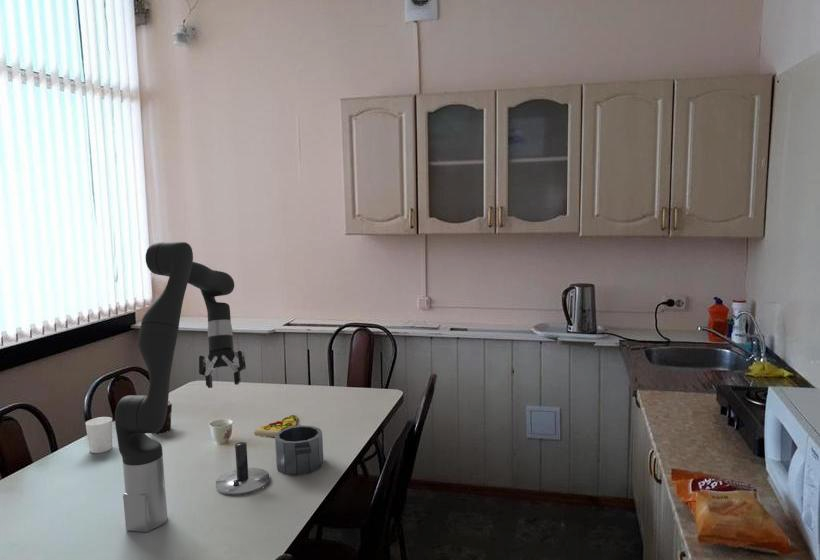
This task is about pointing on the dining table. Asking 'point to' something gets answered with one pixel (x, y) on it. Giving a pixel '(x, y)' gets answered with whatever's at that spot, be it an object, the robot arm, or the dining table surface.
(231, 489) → the lid
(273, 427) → the pizza slice
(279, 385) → the dining table surface
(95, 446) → the white cup
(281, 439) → the pot
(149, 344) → the robot arm
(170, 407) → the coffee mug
